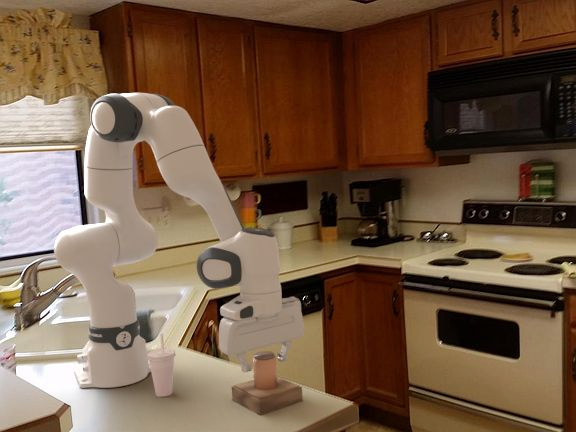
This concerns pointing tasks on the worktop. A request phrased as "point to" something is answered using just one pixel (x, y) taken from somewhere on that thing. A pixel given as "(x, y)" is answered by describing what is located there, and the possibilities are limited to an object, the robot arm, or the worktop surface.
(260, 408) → the plinth
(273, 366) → the jar
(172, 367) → the smoothie
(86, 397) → the worktop surface
